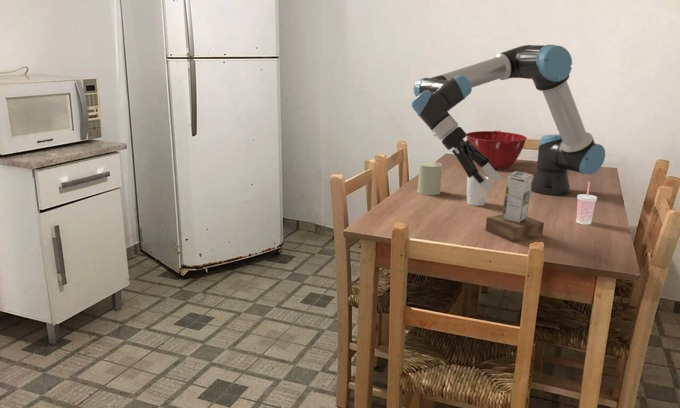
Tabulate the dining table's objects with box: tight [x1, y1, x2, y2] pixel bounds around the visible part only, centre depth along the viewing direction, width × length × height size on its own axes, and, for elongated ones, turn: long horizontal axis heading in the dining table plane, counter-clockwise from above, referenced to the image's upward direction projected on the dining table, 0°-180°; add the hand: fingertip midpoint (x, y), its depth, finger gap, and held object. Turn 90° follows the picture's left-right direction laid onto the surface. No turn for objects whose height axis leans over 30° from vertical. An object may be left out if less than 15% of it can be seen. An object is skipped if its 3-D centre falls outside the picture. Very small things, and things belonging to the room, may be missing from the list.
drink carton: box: [502, 170, 534, 223], centre depth 170 cm, size 6×6×14 cm
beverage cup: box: [575, 181, 598, 225], centre depth 184 cm, size 6×6×14 cm
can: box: [417, 161, 443, 196], centre depth 221 cm, size 9×9×12 cm
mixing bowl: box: [466, 130, 528, 170], centre depth 271 cm, size 28×28×16 cm
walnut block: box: [485, 214, 545, 243], centre depth 173 cm, size 12×12×5 cm
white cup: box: [466, 175, 490, 207], centre depth 206 cm, size 8×8×10 cm
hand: (494, 185), depth 173 cm, fingers open, 13 cm apart
